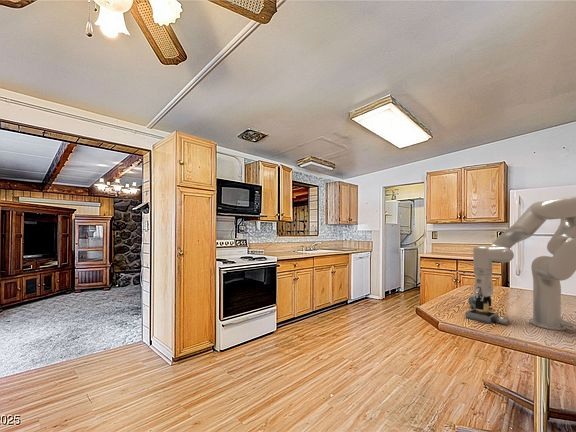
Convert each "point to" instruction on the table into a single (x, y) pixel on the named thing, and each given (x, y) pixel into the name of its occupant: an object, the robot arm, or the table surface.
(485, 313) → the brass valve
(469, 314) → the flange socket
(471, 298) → the grey-teal rounded cylinder
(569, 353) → the table surface
